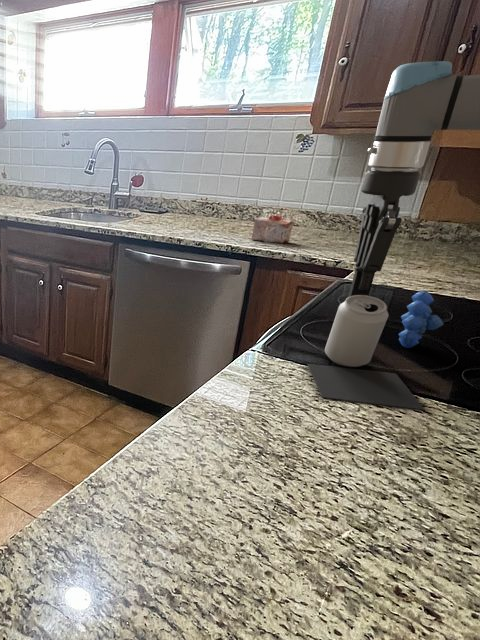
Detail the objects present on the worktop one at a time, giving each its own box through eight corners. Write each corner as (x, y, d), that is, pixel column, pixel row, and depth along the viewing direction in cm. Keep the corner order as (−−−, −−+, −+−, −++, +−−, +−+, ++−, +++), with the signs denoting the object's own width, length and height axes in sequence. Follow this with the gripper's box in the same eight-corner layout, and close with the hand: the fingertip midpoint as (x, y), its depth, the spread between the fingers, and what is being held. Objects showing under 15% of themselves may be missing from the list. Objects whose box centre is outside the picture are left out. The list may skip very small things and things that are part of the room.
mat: (395, 375, 93) (395, 373, 93) (424, 412, 81) (425, 409, 81) (306, 365, 98) (307, 363, 97) (322, 399, 85) (322, 397, 85)
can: (360, 375, 94) (382, 319, 87) (316, 359, 99) (333, 305, 92) (376, 355, 98) (398, 300, 91) (333, 341, 103) (351, 287, 95)
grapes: (428, 362, 98) (450, 300, 93) (385, 352, 102) (404, 293, 98) (438, 345, 106) (458, 287, 101) (397, 336, 110) (415, 281, 105)
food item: (293, 242, 201) (298, 215, 197) (284, 245, 196) (289, 218, 192) (257, 237, 210) (262, 212, 206) (248, 240, 206) (252, 214, 202)
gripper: (357, 166, 93) (325, 293, 103) (378, 172, 82) (340, 314, 92) (407, 166, 91) (369, 297, 101) (435, 172, 80) (390, 318, 90)
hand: (355, 305), depth 96 cm, fingers closed
